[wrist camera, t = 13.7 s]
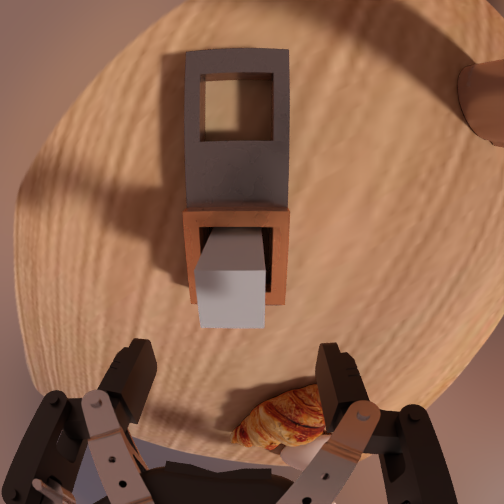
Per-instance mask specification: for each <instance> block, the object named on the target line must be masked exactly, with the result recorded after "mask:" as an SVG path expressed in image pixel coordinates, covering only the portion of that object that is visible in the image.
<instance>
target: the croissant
mask: <svg viewBox="0 0 504 504" xmlns="http://www.w3.org/2000/svg"><path fill="white" fill-rule="evenodd" d="M324 428H325V421H324V416H323V411H322V406H321V401H320V396H319V391H318V386H317V384H313V385H308V386H307V387H304V388H301V389H298V390H290V391H287V392H285V393H283V394H281V395H279V396H277V397H274V398H272V399H269V400H267V401H265V402H263V403H262V404H259V405H258V406H256V407H255V408H254V409H253V410H252V412H251V413H250V415H249V416H247V417H246V418H245V419H244V420H243V421H242V423H241V425H240V426H237V427H236V428H235V430H233V432H232V433H231V435H230V441H231V443H238V444H240V445H242V446H245V447H251V446H253V445H254V446H258V447H262V448H265V449H268V450H272V449H274V448H276V447H277V446H278V445H279V444H281V443H282V444H284V445H286V446H290V447H295V446H300V445H305V444H307V443H310V442H312V441H314V440H315V439H316V438H317V437H319V436H320V435H321V434H322V433H323V430H324Z"/></svg>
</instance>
